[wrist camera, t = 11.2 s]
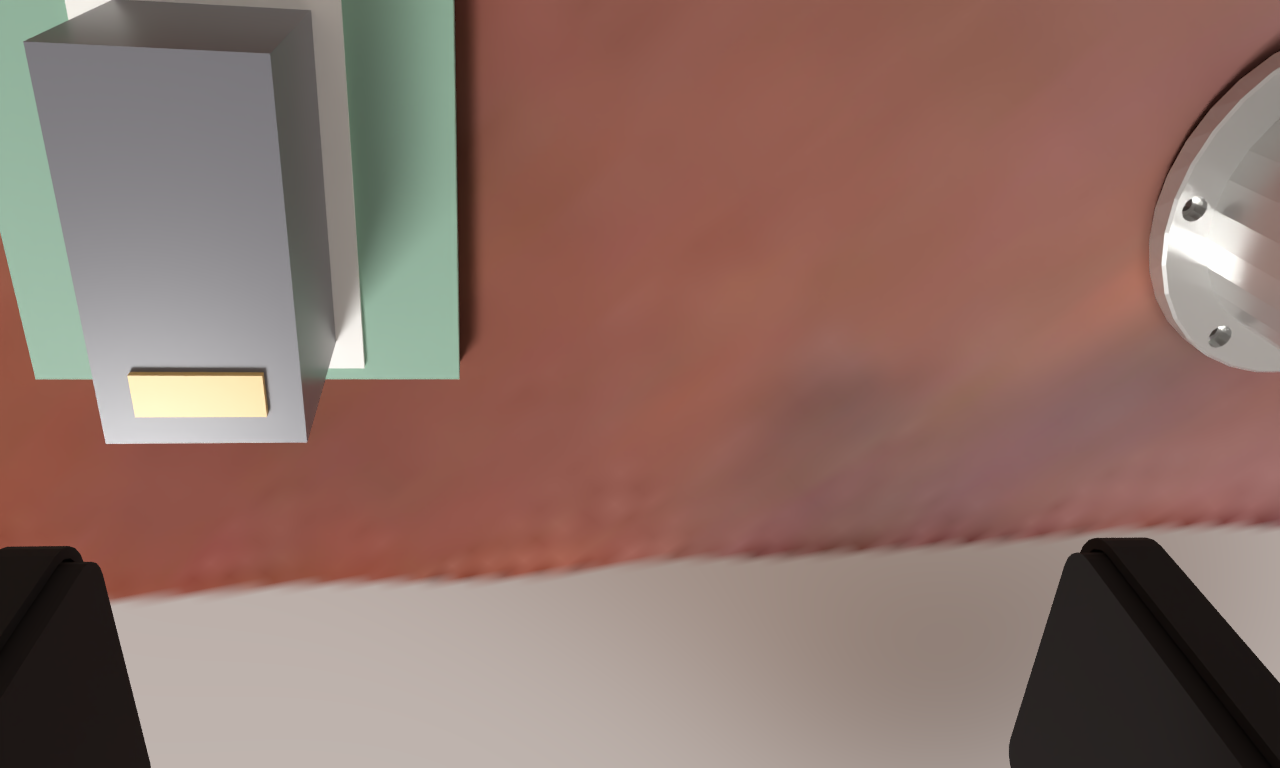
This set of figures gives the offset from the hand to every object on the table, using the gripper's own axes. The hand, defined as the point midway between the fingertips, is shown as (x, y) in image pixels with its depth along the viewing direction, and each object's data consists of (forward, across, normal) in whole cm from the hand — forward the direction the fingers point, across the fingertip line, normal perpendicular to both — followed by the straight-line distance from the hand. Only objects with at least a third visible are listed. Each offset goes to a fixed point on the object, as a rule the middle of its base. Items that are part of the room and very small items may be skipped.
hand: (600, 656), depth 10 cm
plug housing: (+22, +10, +2) cm, 24 cm away
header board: (+23, +10, +2) cm, 25 cm away
